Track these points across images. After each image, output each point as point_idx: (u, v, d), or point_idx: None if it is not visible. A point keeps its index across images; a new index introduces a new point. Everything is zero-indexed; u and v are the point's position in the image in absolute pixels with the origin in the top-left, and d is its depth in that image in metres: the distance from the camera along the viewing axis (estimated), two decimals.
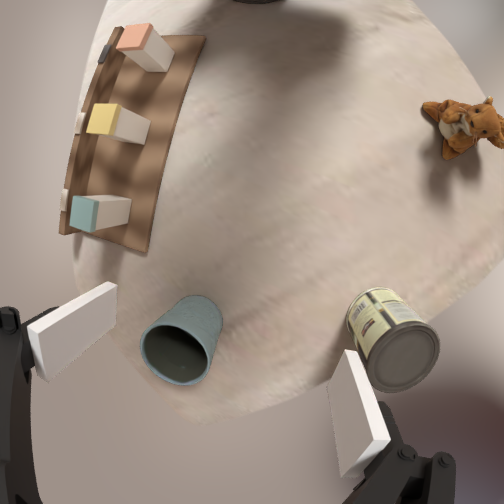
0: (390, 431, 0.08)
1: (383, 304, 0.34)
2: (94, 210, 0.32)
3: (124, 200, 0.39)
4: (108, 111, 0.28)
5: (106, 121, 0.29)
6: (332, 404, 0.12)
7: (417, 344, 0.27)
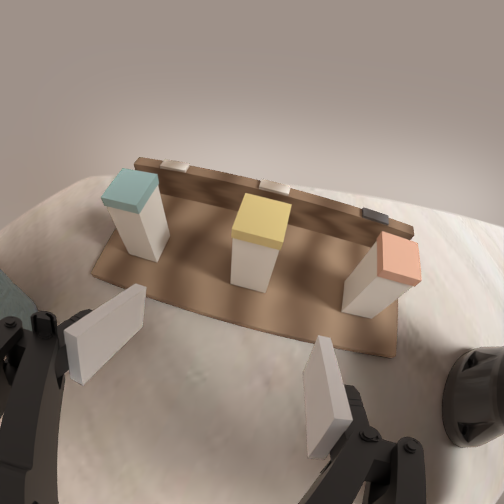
0: (356, 414, 0.09)
1: None
2: (126, 205, 0.23)
3: (152, 251, 0.29)
4: (271, 228, 0.22)
5: (255, 225, 0.22)
6: (305, 388, 0.13)
7: None
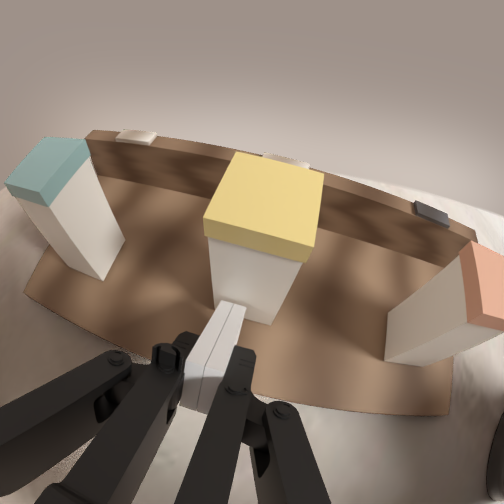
0: (241, 372, 0.11)
1: None
2: (30, 194, 0.11)
3: (91, 266, 0.17)
4: (288, 217, 0.10)
5: (253, 210, 0.10)
6: None
7: None
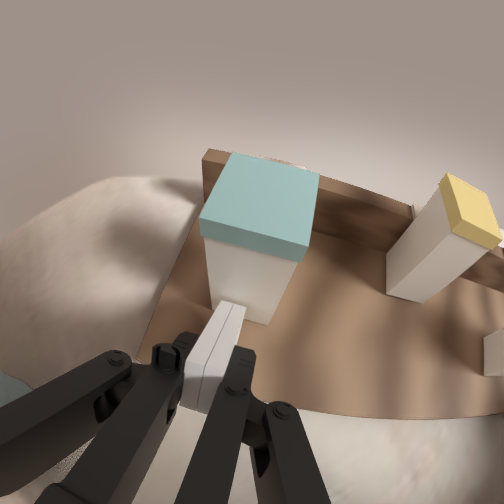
0: (241, 373, 0.11)
1: None
2: (274, 243, 0.10)
3: (271, 314, 0.17)
4: (488, 222, 0.12)
5: (476, 216, 0.12)
6: None
7: None
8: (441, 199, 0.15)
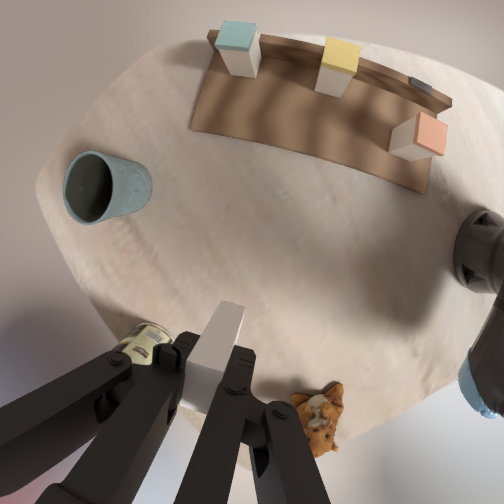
0: (241, 372, 0.11)
1: None
2: (238, 48, 0.26)
3: (253, 72, 0.34)
4: (348, 62, 0.25)
5: (337, 59, 0.25)
6: None
7: None
8: (324, 49, 0.26)
